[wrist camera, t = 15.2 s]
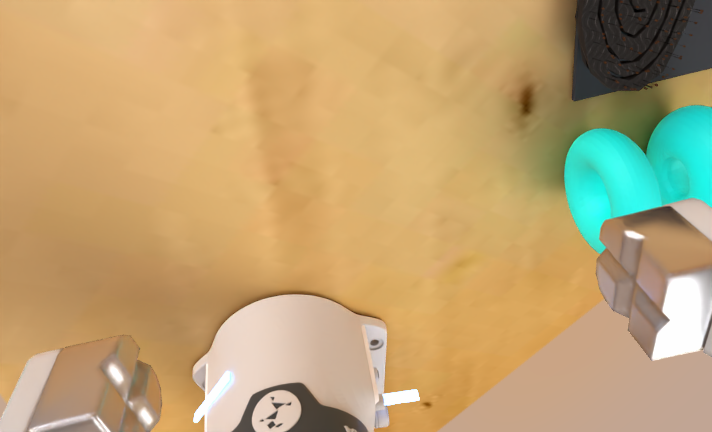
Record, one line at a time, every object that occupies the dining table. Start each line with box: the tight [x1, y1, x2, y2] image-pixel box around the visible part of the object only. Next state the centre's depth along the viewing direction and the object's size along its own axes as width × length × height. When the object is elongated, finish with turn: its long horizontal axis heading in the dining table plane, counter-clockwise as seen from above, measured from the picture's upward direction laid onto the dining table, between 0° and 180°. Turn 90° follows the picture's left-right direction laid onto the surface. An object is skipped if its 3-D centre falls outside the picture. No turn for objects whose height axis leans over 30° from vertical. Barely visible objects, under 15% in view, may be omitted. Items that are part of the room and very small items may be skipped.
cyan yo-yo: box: [564, 105, 712, 254], centre depth 40 cm, size 10×10×10 cm
